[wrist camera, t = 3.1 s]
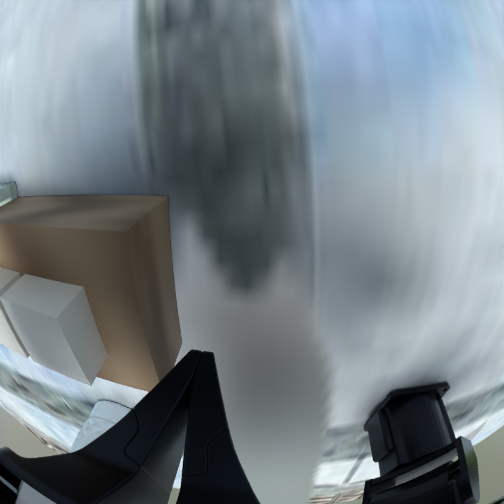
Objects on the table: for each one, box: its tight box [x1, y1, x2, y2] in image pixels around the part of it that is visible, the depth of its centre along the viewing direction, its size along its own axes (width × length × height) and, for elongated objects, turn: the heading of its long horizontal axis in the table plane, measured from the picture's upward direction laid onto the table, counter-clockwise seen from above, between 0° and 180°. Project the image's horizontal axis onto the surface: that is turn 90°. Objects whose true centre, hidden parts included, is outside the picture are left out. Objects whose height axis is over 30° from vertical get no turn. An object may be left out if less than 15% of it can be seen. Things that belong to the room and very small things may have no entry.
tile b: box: [0, 267, 30, 358], centre depth 9 cm, size 4×4×2 cm
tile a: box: [0, 274, 108, 385], centre depth 9 cm, size 4×4×2 cm
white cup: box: [69, 400, 131, 453], centre depth 18 cm, size 8×8×10 cm
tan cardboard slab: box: [0, 195, 182, 392], centre depth 12 cm, size 11×9×4 cm
